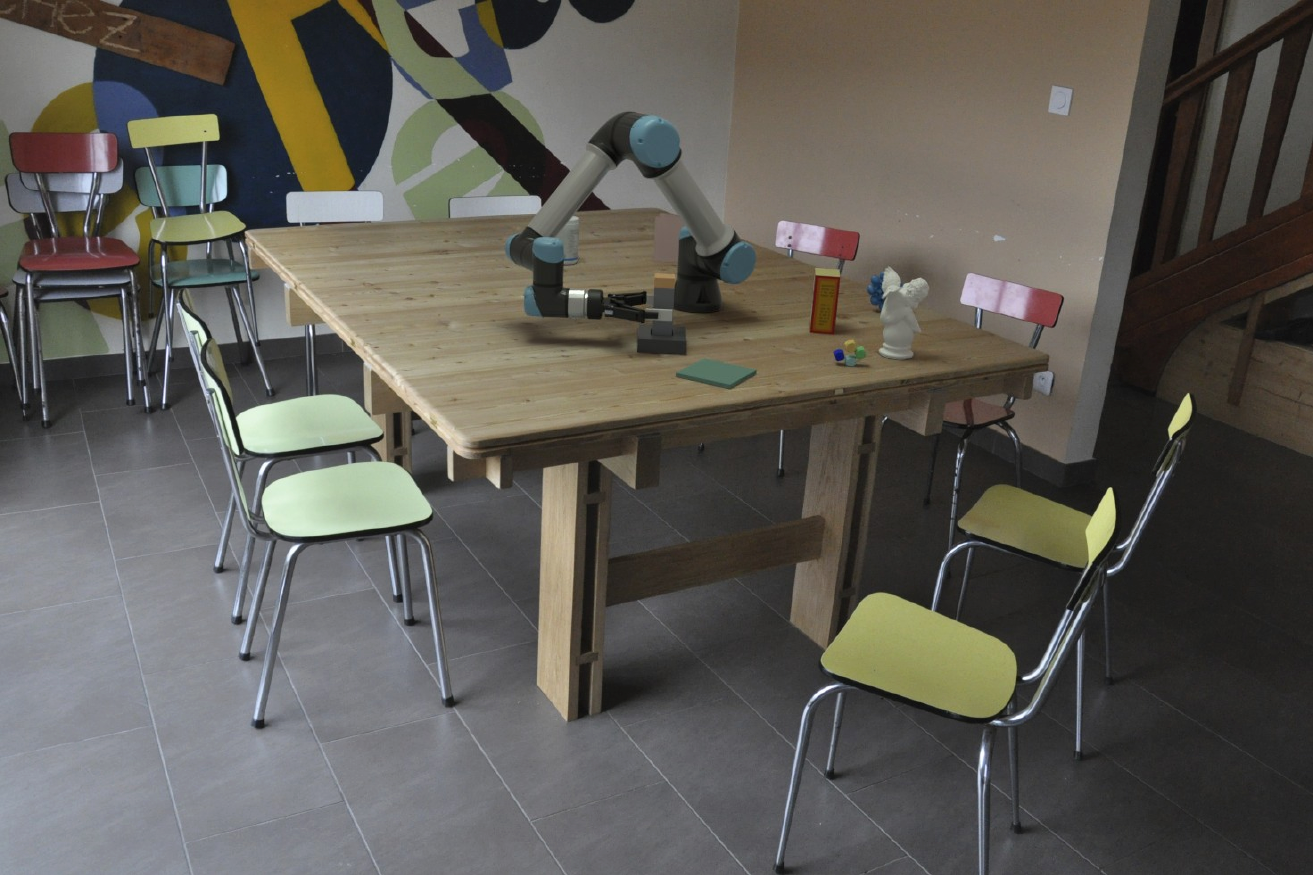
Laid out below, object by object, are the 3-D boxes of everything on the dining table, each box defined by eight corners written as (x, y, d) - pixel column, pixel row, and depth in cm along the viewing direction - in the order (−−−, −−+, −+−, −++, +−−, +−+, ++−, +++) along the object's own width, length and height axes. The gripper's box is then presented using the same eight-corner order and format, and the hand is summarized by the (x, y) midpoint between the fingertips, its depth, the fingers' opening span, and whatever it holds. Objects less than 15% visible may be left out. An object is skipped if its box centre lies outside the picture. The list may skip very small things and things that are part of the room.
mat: (704, 362, 269) (704, 358, 269) (756, 373, 263) (756, 369, 262) (675, 376, 258) (676, 372, 257) (729, 389, 251) (729, 384, 251)
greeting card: (688, 262, 371) (691, 217, 365) (677, 266, 365) (680, 220, 359) (659, 257, 376) (661, 212, 371) (647, 260, 370) (649, 215, 365)
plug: (651, 342, 282) (654, 272, 276) (671, 343, 282) (674, 273, 276) (651, 348, 278) (654, 277, 271) (671, 349, 278) (675, 278, 271)
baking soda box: (809, 323, 307) (815, 266, 301) (833, 325, 306) (839, 267, 300) (809, 332, 298) (815, 274, 292) (834, 334, 298) (840, 275, 292)
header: (638, 337, 286) (638, 324, 285) (684, 339, 286) (685, 326, 285) (636, 352, 274) (637, 338, 273) (685, 354, 274) (686, 341, 273)
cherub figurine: (923, 357, 282) (937, 272, 274) (898, 367, 274) (911, 279, 265) (882, 345, 290) (894, 262, 281) (856, 354, 281) (867, 269, 273)
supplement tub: (543, 263, 359) (543, 217, 354) (557, 257, 368) (558, 213, 362) (569, 267, 356) (570, 221, 350) (583, 261, 364) (584, 216, 358)
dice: (833, 365, 272) (835, 340, 269) (831, 362, 274) (834, 337, 272) (865, 367, 272) (868, 342, 269) (864, 364, 274) (867, 339, 272)
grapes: (866, 315, 318) (871, 273, 314) (862, 308, 324) (867, 268, 320) (907, 317, 318) (912, 276, 314) (902, 310, 324) (908, 270, 320)
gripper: (589, 305, 289) (671, 309, 289) (582, 332, 266) (671, 337, 266) (590, 277, 286) (672, 281, 287) (583, 302, 263) (673, 306, 263)
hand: (672, 308), depth 276 cm, fingers open, 13 cm apart
